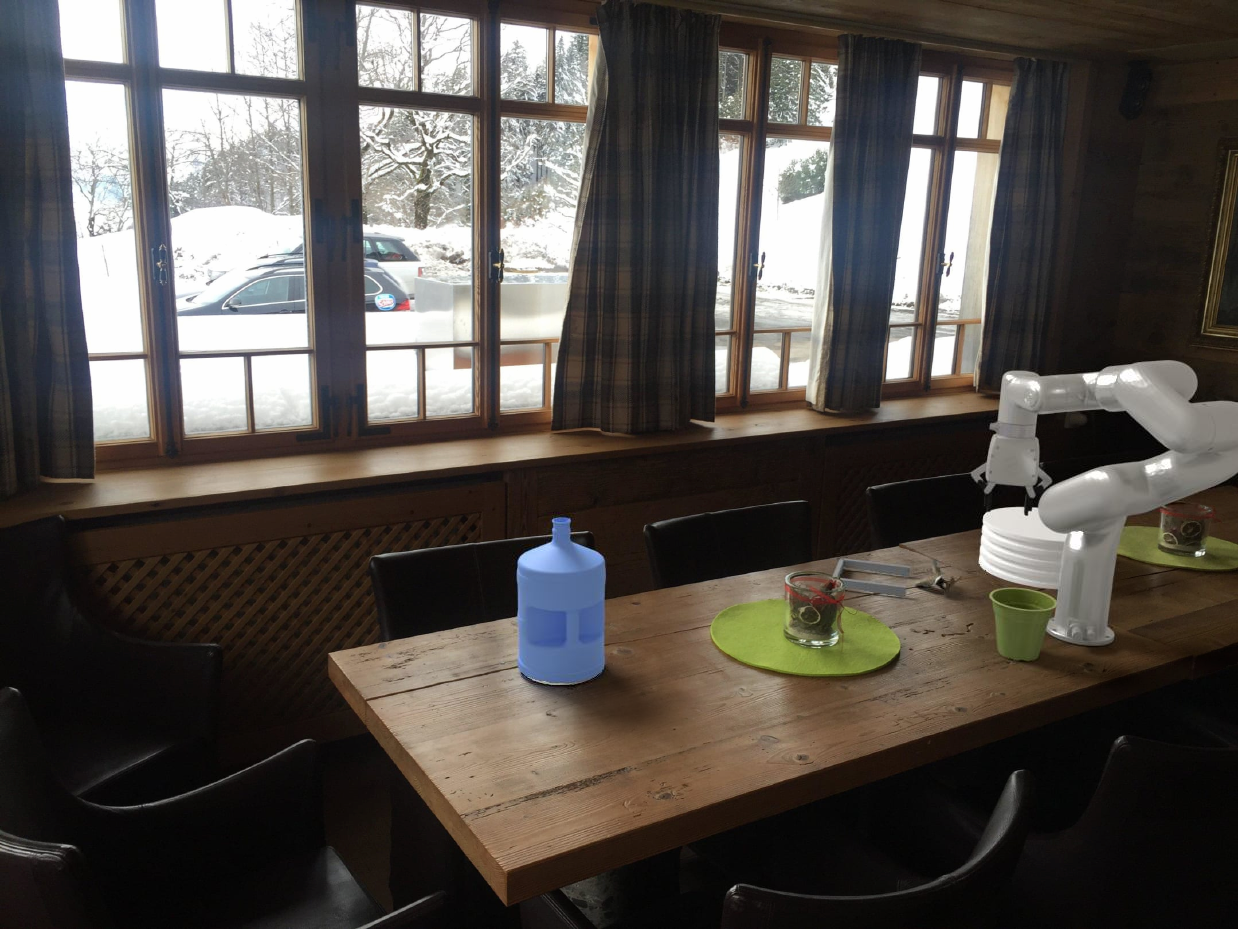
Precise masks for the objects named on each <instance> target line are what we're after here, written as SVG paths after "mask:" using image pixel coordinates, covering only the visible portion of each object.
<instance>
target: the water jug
mask: <svg viewBox="0 0 1238 929" xmlns="http://www.w3.org/2000/svg"><path fill="white" fill-rule="evenodd" d="M551 522H552V524H553V525H552V526H553V527H552V530H551V531H552V540H551V542H547V543H546V544H543V545H540V546H538V547H535V548H532V549H530V550H528V551H525V552H524V553H523V554H521V555H520V556H519V558H518V560H517V570H516V582H517V608H518V609H517V628H518V629H517V630H518V655H517V667H518V671H519V670H520V671H521V672H522V673H523V674H524V675H526V676H527V677H530V678H532V679H535V680H539V681H546V682H549V683H575V682H580V681H584V680H588V679H591V678H593V677H595V676H597V675H598V674H599V673H600V674H602V672H603V671H602V670H604V668H605V665H606V662H605V661H606V656H605V624H606V622H605V620H606V612H605V595H606V594H605V593H606V592H605V590H606V586H605V585H606V578H607V577H606V576H607V575H606V572H607V571H606V560H605V558H604V556H603V555H602V554H600V553H599V552H598V551H596V550H593V549H590V548H588V547H585V546H583V545H580V544H578V543H576V542H573V541H572V540H571V526H570V524H571V518H568V517H556V518H553V519H552V520H551ZM520 671H519V672H520ZM521 672H520V673H521ZM600 674H599V675H600ZM599 675H598V676H599ZM598 676H597V677H598Z"/></svg>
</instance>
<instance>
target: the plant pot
mask: <svg viewBox="0 0 1238 929" xmlns="http://www.w3.org/2000/svg"><path fill="white" fill-rule="evenodd" d="M989 599H990V600H991V602H992V609H993V610H992V611H993V612H994V618H995V619H994V620H995V622H994V623H995V634H996V635H995V636H996V647H997V648H996V649H997V651H998V653H999V655H1001V657H1004V658H1006V657H1007V658H1006V659H1009V658H1011V659H1013V660H1012V661H1020V660H1021V661H1025V662H1030V661H1031V660H1032V661H1035V660H1037V659H1038V657H1039V656H1040V653H1041V648H1042V646H1043V641H1044V638H1045V635H1046V632H1047V631H1046V628H1047V625H1048V622H1049V619H1051V618H1052V615H1053V612H1054V610H1056V607H1057V605H1058V603H1057V599H1055V598H1054V597H1052V596H1051V595H1049V594H1047V593H1044V592H1041V591H1038V590H1034V589H1029V588H1020V587H1004V588H998V589H994V590H992V591H991V592H990V593H989ZM1011 659H1010V660H1011ZM1032 661H1031V662H1032Z"/></svg>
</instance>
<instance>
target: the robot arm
mask: <svg viewBox="0 0 1238 929" xmlns="http://www.w3.org/2000/svg"><path fill="white" fill-rule="evenodd" d="M1197 388H1198V377H1197V374H1196V372H1195V371H1194V370H1193V368H1191V367H1190V366H1189V365H1188V364H1186V363H1184V362H1181V361H1177V360H1169V359H1168V360H1167V359H1166V360H1155V361H1154V360H1152V361H1141V362H1139V361H1138V362H1134V363H1132V364H1122V365H1113V366H1112V365H1110V366H1107V367H1105V368H1103V369H1102V370H1100V371H1094V372H1083V373H1075V374H1074V373H1072V374H1071V373H1070V374H1056V375H1055V374H1054V375H1043V376H1040V375H1039V374H1038V373H1036V372H1033V371H1027V370H1010V371H1009V370H1008V371H1007V372H1005V373H1004V374H1003V375H1002V379H1001V387H1000V396H999V398H1000V399H999V406H998V407H999V408H998V415H997V421H995V422H993V423H992V422H991V423H990V425H989V430H992V431H995V432H996V433H995V434H993V435H992V437H991V439H990V440H991V441H990V443H989V448H988V453H987V454H988V455H987V460H986V462H985V463H983V464H981V465H980V466H979V467H977V468H976V469H974V470H972V471H970V472H971V473H970V475H971V477H972V479H973V480H974V482H976V484H977V485H978V486H979V488H981V490H982V491H983V492H984V501H983V507H984V508H986V513H987V512H991V510H992V501H993V500H992V499H993V491H992V490H993V488H995V486H996V485H1005V486H1018V487H1025V489H1026V493H1027V494H1025V501H1024V506H1023V507H1024V515H1025V516H1028V512H1029V511H1032V507H1033V504H1034V498H1035V497H1036V496H1038V495H1039V494H1040V493H1041V492H1043V491H1044V490H1045V489H1046V488H1047V487H1048V486H1049V485H1051V484H1052V483H1053V480H1052V478H1051V477H1050V476H1049V475H1048V474H1047V473H1046V472H1045V471H1044V470H1042V469H1041V467H1039V466H1040V465H1039V464H1040V444H1039V442H1040V441H1039V438H1037V436H1036V428H1037V420H1038V419H1037V418H1038V415H1046V414H1047V415H1048V414H1055V413H1066V412H1078V411H1079V412H1080V411H1091V410H1105V411H1107V412H1112V413H1113V412H1127V413H1128V414H1129V415H1130V417H1132V418H1133V419H1134V420H1135V421H1136V422H1137V423H1138V424H1140V425H1141V426H1142V427H1143V428H1144V429H1145V431H1147V432H1149V434H1150V435H1152V436H1153V437H1154V438H1155V439H1156V440H1157V441H1158V442H1159V443H1160V444H1162V445H1163V446H1164V447H1166V448H1167V449H1169V450H1167V451H1166V452H1164V453H1161V454H1160V455H1156V456H1154V457H1151V458H1148V459H1145V460H1140V461H1131V462H1123V463H1116V464H1115V463H1114V464H1110V465H1109V464H1108V465H1104V466H1099V467H1095V468H1093V469H1090V470H1088V471H1085V472H1082V473H1080V474H1077V475H1075V476H1072V477H1070V478H1068V479H1065V480H1062V481H1060V482H1058V483H1056V484H1055V483H1054V484H1053V485H1052V486H1049V488H1047V489H1046V490H1045V491H1044V492H1043V493H1042V495H1041V497H1040V499H1039V501H1038V505H1037V508H1038V513H1039V517H1040V519H1041V521H1042V523H1043V524H1044V525H1045V526H1046V527H1047V528H1049V529H1050V530H1052V531H1054V532H1057V533H1061V534H1067V537H1066V540H1065V543H1064V547H1063V554H1062V562H1061V570H1060V579H1059V587H1058V589H1057V596H1056V601H1057V603H1058V605H1057V607H1056V608H1055V611H1054V612H1055V614H1054V617H1051V618H1050V619H1049V622H1048V625H1047V628H1046V632H1047V633H1048V634H1049V635H1050V636H1052V637H1053V638H1055V639H1058V640H1061V641H1063V642H1066V643H1071V644H1075V645H1079V646H1089V647H1092V646H1094V647H1098V646H1100V647H1101V646H1106V645H1109V644H1111V643H1113V641H1114V639H1115V632H1114V630H1112V629H1111V627H1109V626H1108V620H1109V613H1110V605H1111V598H1112V592H1113V591H1112V590H1113V583H1114V577H1115V576H1114V575H1115V568H1116V563H1117V562H1116V561H1117V555H1118V549H1119V544H1120V539H1121V535H1122V533H1123V529H1124V527H1125V524H1126V522H1127V519H1128V516H1129V517H1130V516H1133V515H1140V514H1143V513H1144V514H1145V513H1147V512H1150V511H1153V510H1156V509H1157V508H1160V507H1163V506H1165V505H1168V504H1171V503H1172V502H1176V501H1179V500H1182V499H1184V498H1186V497H1189V496H1191V495H1194V494H1197V493H1199V492H1202V491H1205V490H1207V489H1209V488H1212V487H1215V486H1217V485H1219V484H1221V483H1223V482H1225V481H1228V480H1229V479H1230V478H1232V477H1234V476H1236V474H1238V402H1235V401H1231V400H1216V401H1215V400H1214V401H1204V402H1203V401H1202V402H1201V401H1200V402H1193V403H1192V402H1190V400H1191V399H1192V398H1193V396H1194V395H1195V392H1196V391H1197ZM983 473H985V479H986V481H987V482H985V480H984V479H983V478H982V477H981V476H980V475H981V474H983ZM1038 478H1040V479H1041V480H1042V481H1041V482H1040V483H1039V484H1037V482H1038ZM1036 484H1037V485H1036Z"/></svg>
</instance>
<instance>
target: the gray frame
mask: <svg viewBox="0 0 1238 929" xmlns="http://www.w3.org/2000/svg"><path fill="white" fill-rule="evenodd" d="M843 567H846V568H854V569H860V570H870V571H875V572H879V573H887V574H895V575H902V576H906V577H911V567H912V566H911V565H910V566H908V565H901V564H893V563H884V562H876V561H869V560H868V561H867V560H858V559H849V558H843V557H840V558H839V560H838V562H837V565H836V567H835V569H834V570H833V574H832V577H837V578H839V575H840V574H841V572H842V570H843ZM843 571H844V570H843ZM842 573H843V572H842ZM841 575H842V574H841ZM832 577H831V578H832ZM840 579H841V580H842V581H843V582H844V583H845V585H846V590H847V588H849V589H858V590H864V591H869V592H873V593H881V594H887V595H895V596H899V597H905V596H906V595H907V585H900V584H890V583H883V582H873V581H867V580H858V579H853V578H852V579H850V578H843V577H840ZM905 598H906V597H905Z"/></svg>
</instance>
